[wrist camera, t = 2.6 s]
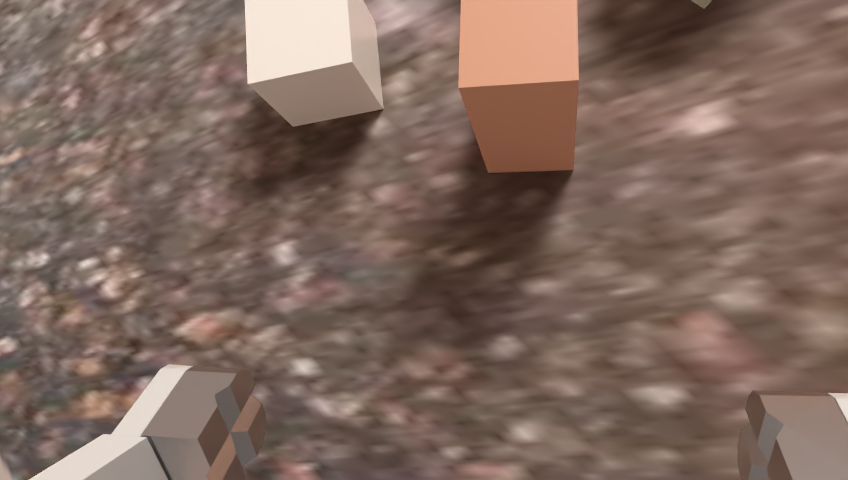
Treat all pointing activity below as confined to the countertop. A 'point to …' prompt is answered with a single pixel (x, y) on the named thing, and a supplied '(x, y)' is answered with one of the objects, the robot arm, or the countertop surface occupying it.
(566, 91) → the terracotta post
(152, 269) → the countertop surface
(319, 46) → the ceramic block
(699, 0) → the sage block
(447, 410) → the countertop surface
